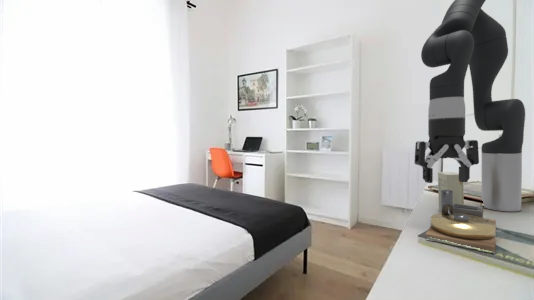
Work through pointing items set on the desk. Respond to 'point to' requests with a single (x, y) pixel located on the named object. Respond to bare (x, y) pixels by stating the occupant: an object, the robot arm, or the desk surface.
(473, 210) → the tan piece
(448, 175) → the skincare box
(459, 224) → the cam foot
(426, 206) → the desk surface
